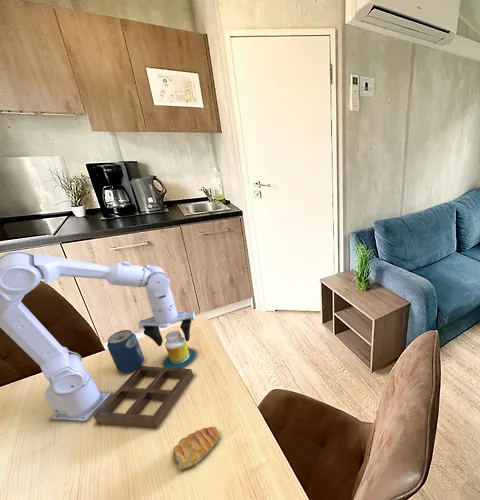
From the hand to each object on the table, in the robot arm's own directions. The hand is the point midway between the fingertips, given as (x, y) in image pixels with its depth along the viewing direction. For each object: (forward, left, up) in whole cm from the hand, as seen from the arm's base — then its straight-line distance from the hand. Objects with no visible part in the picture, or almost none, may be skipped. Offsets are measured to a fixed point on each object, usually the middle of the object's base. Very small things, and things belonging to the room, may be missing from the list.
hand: (174, 341), depth 89 cm
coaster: (0, 0, -7) cm, 7 cm away
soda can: (-13, -4, -8) cm, 16 cm away
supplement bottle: (0, 0, -7) cm, 7 cm away
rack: (0, -14, -7) cm, 16 cm away
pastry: (+21, -27, -8) cm, 35 cm away
